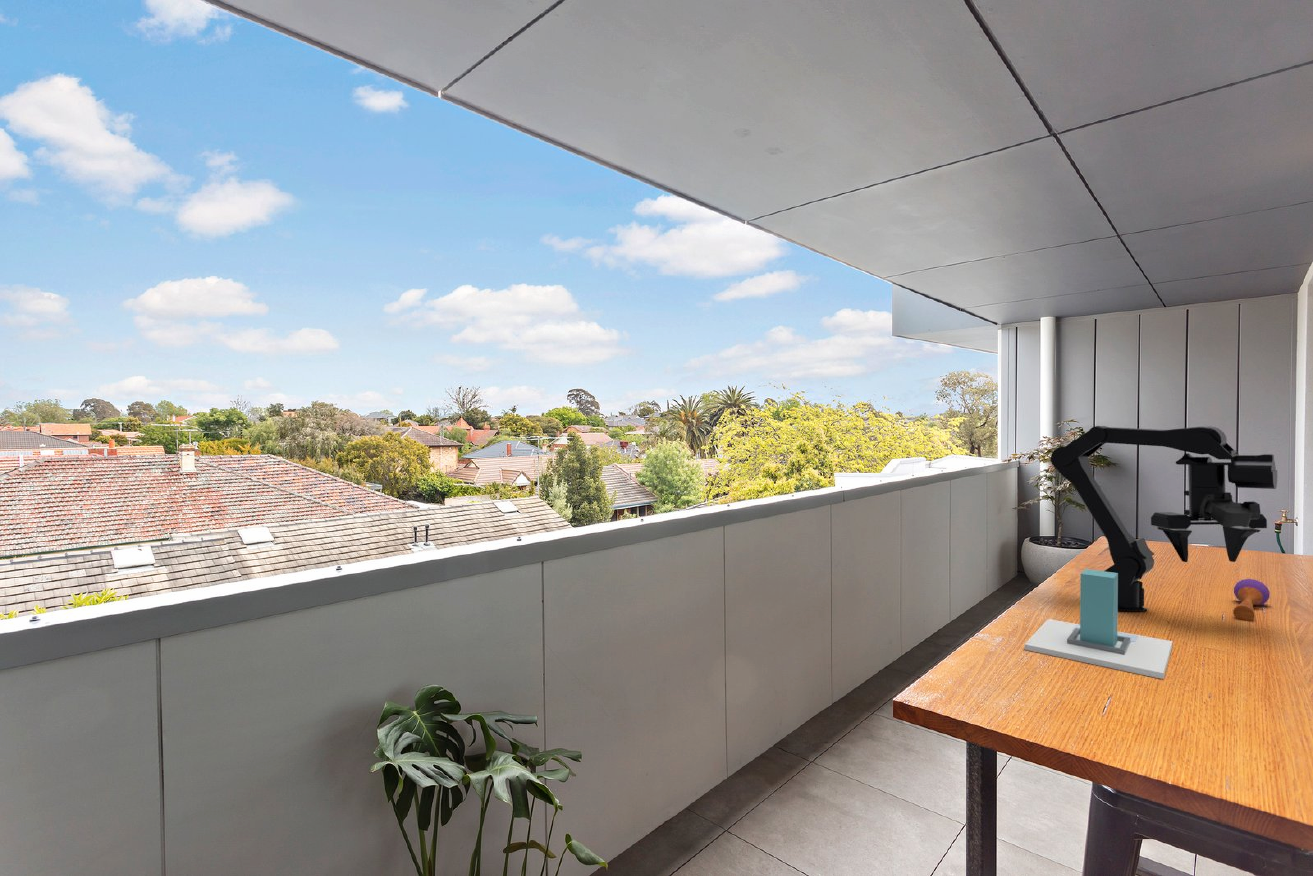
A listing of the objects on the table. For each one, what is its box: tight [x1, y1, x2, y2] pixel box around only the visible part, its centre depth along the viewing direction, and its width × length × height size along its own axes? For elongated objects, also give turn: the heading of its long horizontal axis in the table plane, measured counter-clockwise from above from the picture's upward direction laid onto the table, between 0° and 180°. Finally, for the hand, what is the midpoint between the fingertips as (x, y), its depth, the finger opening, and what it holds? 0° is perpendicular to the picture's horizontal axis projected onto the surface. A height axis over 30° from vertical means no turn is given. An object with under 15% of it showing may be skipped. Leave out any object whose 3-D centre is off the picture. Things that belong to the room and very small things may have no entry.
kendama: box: [1232, 578, 1271, 622], centre depth 137 cm, size 6×6×20 cm
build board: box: [1024, 618, 1173, 680], centre depth 115 cm, size 20×20×2 cm
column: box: [1079, 568, 1119, 647], centre depth 115 cm, size 5×5×13 cm
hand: (1208, 561), depth 128 cm, fingers open, 9 cm apart
